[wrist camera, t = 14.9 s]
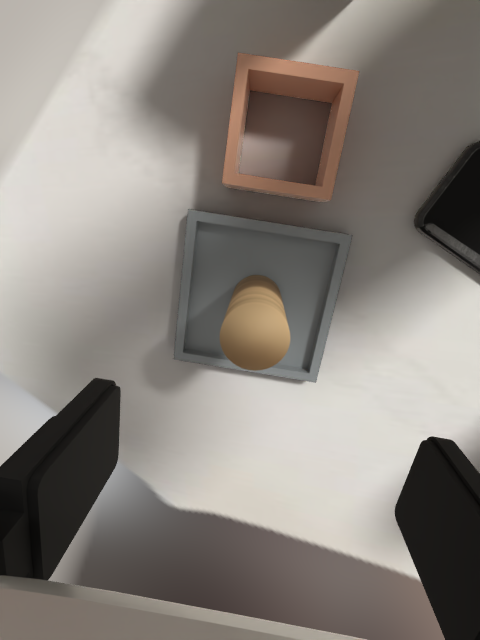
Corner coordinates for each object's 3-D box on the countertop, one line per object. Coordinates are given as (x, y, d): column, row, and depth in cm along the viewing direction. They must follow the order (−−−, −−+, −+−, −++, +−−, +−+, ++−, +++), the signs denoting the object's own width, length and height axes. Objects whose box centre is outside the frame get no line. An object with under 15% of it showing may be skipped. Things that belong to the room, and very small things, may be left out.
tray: (191, 209, 29) (188, 209, 27) (347, 234, 28) (352, 235, 27) (177, 352, 33) (173, 359, 31) (313, 375, 33) (315, 382, 31)
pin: (236, 271, 29) (224, 299, 20) (285, 278, 29) (296, 310, 20) (229, 317, 31) (215, 364, 21) (276, 325, 31) (283, 375, 21)
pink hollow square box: (241, 76, 26) (238, 52, 22) (344, 92, 25) (359, 71, 22) (227, 187, 28) (221, 183, 24) (321, 202, 28) (330, 200, 24)
